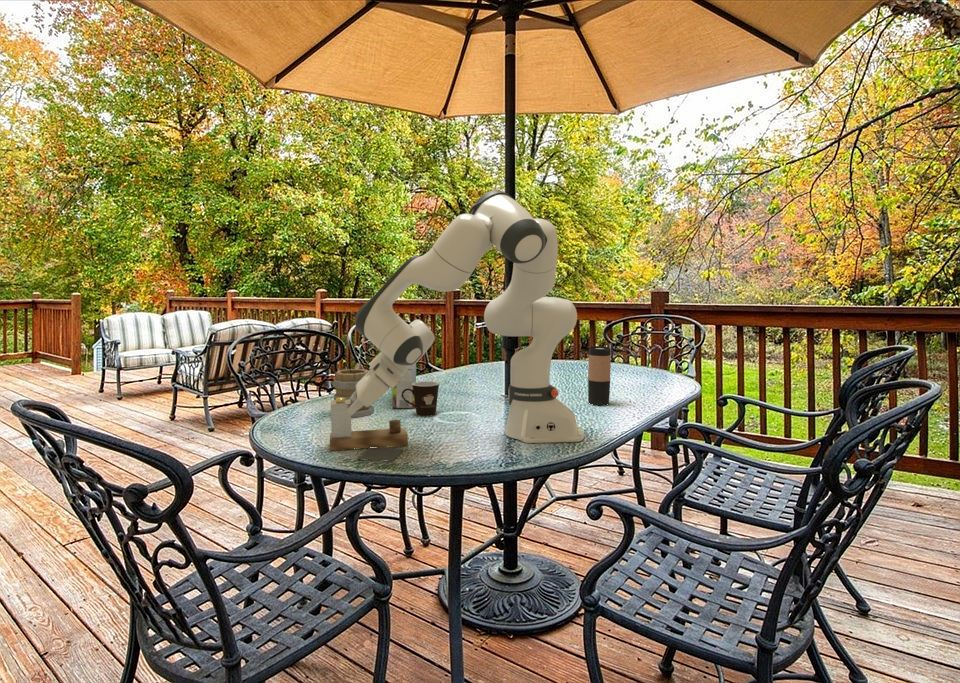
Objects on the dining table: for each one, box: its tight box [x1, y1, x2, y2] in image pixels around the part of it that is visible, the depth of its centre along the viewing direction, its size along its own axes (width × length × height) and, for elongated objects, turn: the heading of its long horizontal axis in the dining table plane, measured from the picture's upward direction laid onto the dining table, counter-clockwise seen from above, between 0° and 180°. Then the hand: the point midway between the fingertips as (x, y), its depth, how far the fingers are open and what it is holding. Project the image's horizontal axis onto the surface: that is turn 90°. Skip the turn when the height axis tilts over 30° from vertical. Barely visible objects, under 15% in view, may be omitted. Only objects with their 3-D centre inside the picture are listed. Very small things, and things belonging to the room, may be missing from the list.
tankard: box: [332, 362, 375, 419], centre depth 187 cm, size 20×13×15 cm, turn 179°
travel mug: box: [587, 345, 612, 406], centre depth 196 cm, size 8×8×20 cm
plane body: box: [329, 419, 409, 451], centre depth 149 cm, size 20×7×6 cm, turn 103°
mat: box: [357, 447, 404, 462], centre depth 141 cm, size 9×9×1 cm
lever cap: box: [330, 397, 352, 439], centre depth 147 cm, size 5×5×10 cm
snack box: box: [391, 363, 417, 409], centre depth 199 cm, size 22×9×26 cm, turn 9°
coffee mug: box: [402, 380, 440, 417], centre depth 183 cm, size 12×9×10 cm
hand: (348, 409), depth 146 cm, fingers open, 8 cm apart
